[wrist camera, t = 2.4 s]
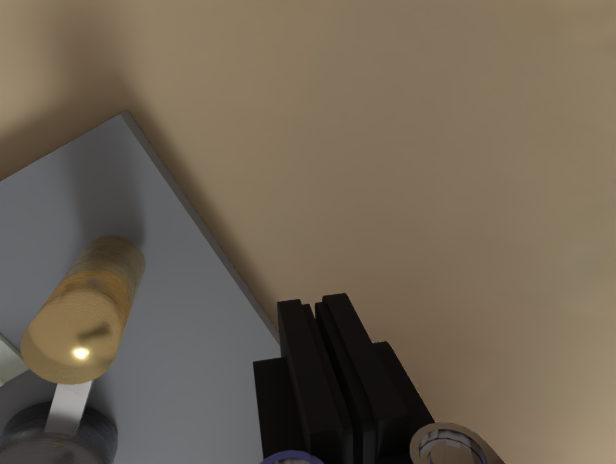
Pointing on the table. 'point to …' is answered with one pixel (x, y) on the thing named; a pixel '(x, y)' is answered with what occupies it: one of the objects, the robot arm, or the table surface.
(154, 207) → the dial plate
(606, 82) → the table surface
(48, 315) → the lever
